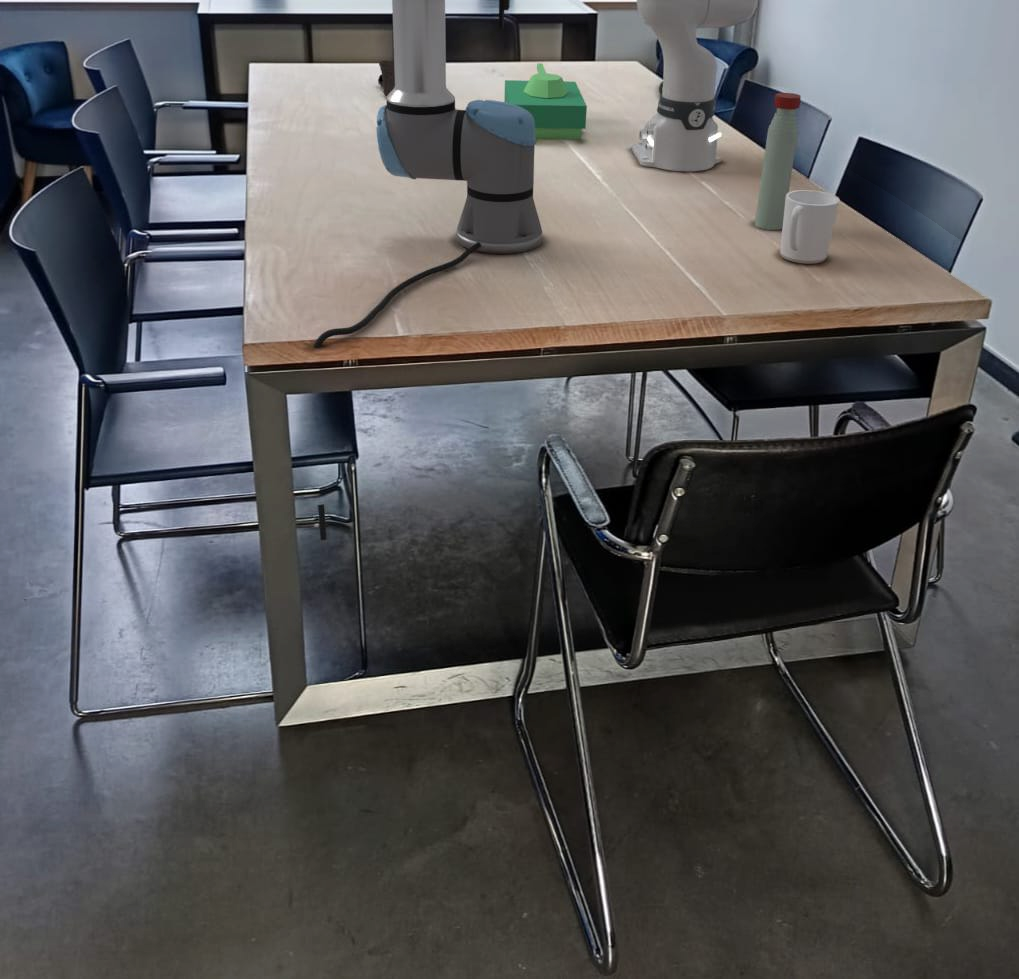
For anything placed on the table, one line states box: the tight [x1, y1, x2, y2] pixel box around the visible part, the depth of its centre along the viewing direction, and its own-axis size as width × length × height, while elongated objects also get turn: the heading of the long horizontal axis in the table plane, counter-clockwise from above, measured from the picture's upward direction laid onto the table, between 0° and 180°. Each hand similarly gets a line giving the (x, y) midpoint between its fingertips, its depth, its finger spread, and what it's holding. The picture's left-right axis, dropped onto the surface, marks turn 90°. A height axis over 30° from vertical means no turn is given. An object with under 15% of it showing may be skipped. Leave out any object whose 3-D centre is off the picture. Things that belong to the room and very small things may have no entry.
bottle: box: [754, 108, 799, 231], centre depth 200 cm, size 5×5×23 cm
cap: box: [773, 92, 802, 110], centre depth 194 cm, size 4×4×2 cm
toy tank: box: [503, 63, 588, 141], centre depth 266 cm, size 18×12×35 cm
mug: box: [779, 189, 841, 265], centre depth 188 cm, size 11×9×10 cm
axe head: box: [377, 59, 395, 97], centre depth 299 cm, size 18×8×15 cm
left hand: (468, 26), depth 224 cm, fingers open, 13 cm apart
